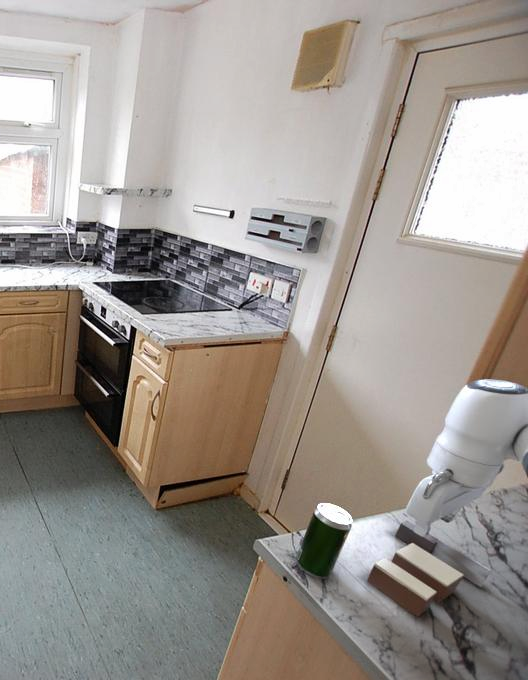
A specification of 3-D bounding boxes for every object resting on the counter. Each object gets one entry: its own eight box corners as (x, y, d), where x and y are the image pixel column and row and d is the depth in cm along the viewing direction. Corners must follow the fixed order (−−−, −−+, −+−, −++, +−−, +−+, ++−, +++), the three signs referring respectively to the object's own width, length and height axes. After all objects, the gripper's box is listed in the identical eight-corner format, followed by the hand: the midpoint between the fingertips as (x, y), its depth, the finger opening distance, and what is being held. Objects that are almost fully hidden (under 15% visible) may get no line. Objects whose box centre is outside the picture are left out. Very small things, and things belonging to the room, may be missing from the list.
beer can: (297, 573, 79) (320, 518, 75) (292, 551, 84) (313, 498, 80) (333, 585, 77) (358, 529, 73) (326, 561, 82) (348, 508, 78)
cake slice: (426, 609, 74) (437, 591, 73) (417, 617, 73) (427, 598, 71) (376, 574, 80) (384, 557, 79) (366, 580, 79) (374, 562, 78)
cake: (453, 592, 78) (463, 574, 77) (437, 603, 76) (447, 585, 74) (404, 559, 84) (412, 542, 83) (387, 568, 82) (396, 551, 81)
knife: (484, 585, 80) (494, 568, 79) (478, 589, 79) (488, 572, 78) (400, 533, 91) (407, 518, 90) (394, 536, 90) (401, 520, 89)
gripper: (455, 489, 75) (424, 554, 79) (509, 462, 83) (478, 523, 88) (411, 467, 80) (384, 530, 85) (466, 444, 89) (438, 502, 93)
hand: (432, 526), depth 86 cm, fingers open, 8 cm apart
